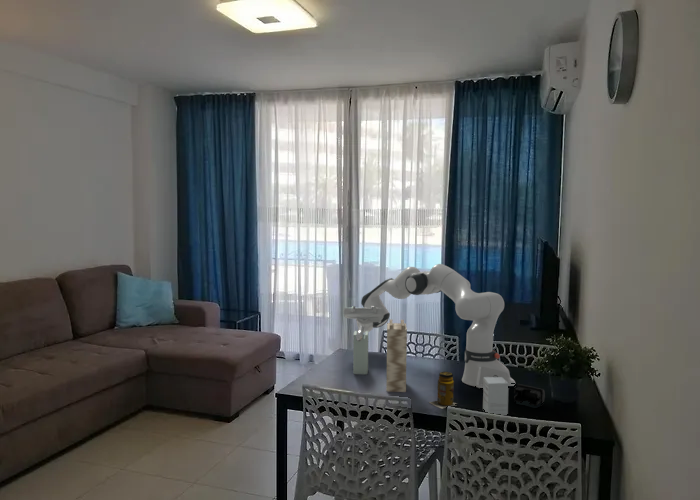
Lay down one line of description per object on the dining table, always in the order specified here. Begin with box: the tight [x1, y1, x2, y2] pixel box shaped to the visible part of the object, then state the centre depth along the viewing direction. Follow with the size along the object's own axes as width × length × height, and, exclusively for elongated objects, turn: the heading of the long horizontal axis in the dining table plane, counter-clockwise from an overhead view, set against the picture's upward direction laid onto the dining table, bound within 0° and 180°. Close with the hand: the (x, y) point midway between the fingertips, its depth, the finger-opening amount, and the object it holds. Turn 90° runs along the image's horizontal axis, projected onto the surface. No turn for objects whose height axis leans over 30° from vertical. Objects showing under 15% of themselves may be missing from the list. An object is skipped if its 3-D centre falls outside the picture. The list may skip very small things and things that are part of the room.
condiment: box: [428, 371, 457, 409], centre depth 202 cm, size 7×8×12 cm
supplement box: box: [482, 377, 509, 415], centre depth 193 cm, size 7×7×13 cm
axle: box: [356, 325, 365, 341], centre depth 242 cm, size 20×3×3 cm, turn 176°
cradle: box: [352, 330, 369, 375], centre depth 242 cm, size 6×8×18 cm
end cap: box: [513, 383, 546, 406], centre depth 203 cm, size 10×7×7 cm
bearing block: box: [385, 318, 408, 393], centre depth 221 cm, size 8×12×28 cm, turn 176°
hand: (363, 307), depth 258 cm, fingers open, 8 cm apart
